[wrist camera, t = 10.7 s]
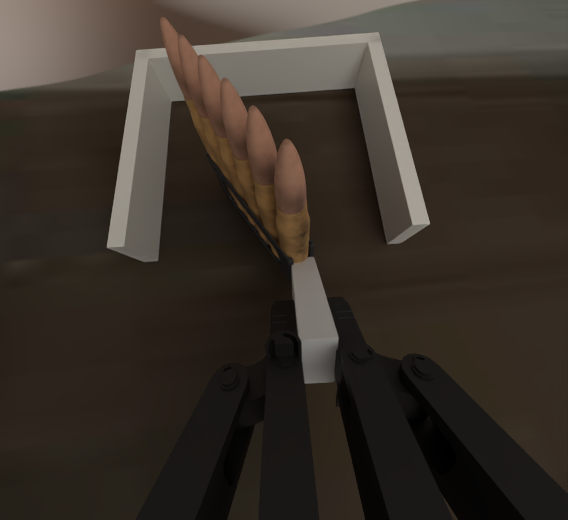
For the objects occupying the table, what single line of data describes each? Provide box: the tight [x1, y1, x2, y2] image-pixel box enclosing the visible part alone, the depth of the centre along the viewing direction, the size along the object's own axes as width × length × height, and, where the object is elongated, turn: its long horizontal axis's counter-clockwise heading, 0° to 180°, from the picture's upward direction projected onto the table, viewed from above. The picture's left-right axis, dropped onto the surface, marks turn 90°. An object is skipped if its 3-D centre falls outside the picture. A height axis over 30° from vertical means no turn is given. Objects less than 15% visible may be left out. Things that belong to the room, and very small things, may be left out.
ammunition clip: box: [160, 17, 314, 282], centre depth 13 cm, size 11×2×12 cm, turn 36°
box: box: [107, 32, 430, 262], centre depth 19 cm, size 22×19×4 cm
